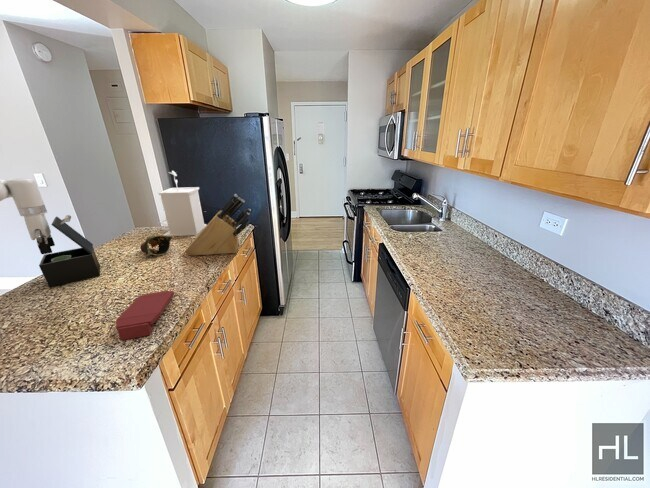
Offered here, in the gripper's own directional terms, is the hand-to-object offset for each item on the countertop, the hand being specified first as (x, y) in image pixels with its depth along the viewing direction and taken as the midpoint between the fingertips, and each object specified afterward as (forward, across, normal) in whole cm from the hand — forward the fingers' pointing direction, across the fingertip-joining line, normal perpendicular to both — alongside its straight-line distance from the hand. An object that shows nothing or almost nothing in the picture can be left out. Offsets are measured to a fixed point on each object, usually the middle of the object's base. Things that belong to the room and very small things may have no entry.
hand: (48, 249), depth 110 cm
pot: (+14, -6, +39) cm, 42 cm away
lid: (-4, 0, +9) cm, 10 cm away
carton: (+14, +54, +27) cm, 62 cm away
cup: (+14, 0, +3) cm, 14 cm away
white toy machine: (+13, -39, +61) cm, 74 cm away
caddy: (+14, 0, +5) cm, 15 cm away
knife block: (+13, +14, +67) cm, 70 cm away
